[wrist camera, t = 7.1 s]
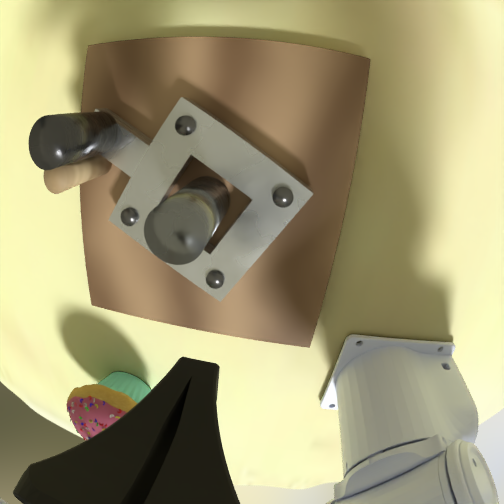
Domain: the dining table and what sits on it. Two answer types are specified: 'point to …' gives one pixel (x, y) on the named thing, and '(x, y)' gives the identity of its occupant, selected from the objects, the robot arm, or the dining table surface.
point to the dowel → (75, 173)
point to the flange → (168, 173)
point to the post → (186, 220)
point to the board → (262, 135)
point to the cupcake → (104, 402)
